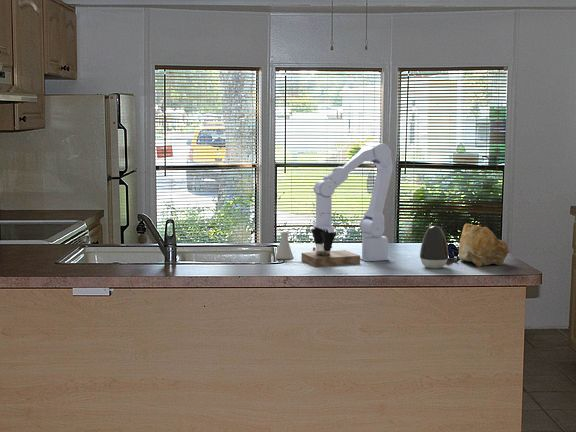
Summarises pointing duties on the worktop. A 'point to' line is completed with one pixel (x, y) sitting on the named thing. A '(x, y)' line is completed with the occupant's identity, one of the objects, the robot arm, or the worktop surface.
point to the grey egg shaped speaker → (434, 248)
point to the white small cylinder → (321, 250)
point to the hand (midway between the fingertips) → (323, 249)
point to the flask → (284, 247)
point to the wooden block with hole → (331, 258)
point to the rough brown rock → (481, 246)
